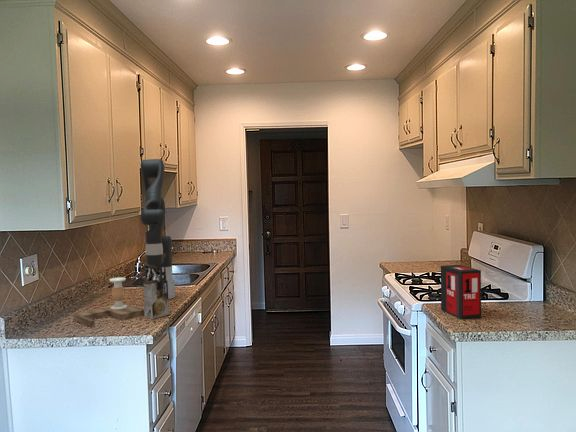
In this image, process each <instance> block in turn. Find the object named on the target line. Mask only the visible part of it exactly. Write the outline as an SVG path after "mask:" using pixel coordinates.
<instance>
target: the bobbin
mask: <svg viewBox="0 0 576 432" xmlns="http://www.w3.org/2000/svg"><path fill="white" fill-rule="evenodd" d="M126 281H127V280H126V277H123V276H122V277H121V276H119V277H118V276H117V277H112V278H109V282H110V283H113V287H112V288H111V289H112V301H113V302H114V304H113V305H111V306H110V307H111V310H123V309H126V308H127V305H128V304H126V305H123V304H124V300H125V289H124V288H125V286H124V285H123V282H126Z"/></svg>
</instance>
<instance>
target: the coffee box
mask: <svg viewBox="0 0 576 432" xmlns="http://www.w3.org/2000/svg"><path fill="white" fill-rule="evenodd" d="M142 285H143V303H144V318H147V319H151V320H154V319H158V318H162V317H165V316H168V315H170V308H169V307H170V305H169V304H170V303H169V299H168V282H167V280H165V281H163V290H158V280H157V279H156V280H155V279H152V280H151V281H148V280H147V281H143V283H142Z"/></svg>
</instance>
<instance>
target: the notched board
mask: <svg viewBox="0 0 576 432" xmlns="http://www.w3.org/2000/svg"><path fill="white" fill-rule="evenodd" d="M123 305H127V308H126V309H123V310H111V306H108V307H105V308H104V307H103V308H99V309H95V310H89V311H84V312H80V313H74V314H73V321H75V322H78V323H80V324H82V325H84V326H88V327H90V328H92V327H93V328H94V327H95V326H96V323H95V320H96V319H101V318H106V317H111V318H114V319H117V320H120V321H124V320H130V319H134V318H138V317H143V316H145V309H143V308H139V307H136V306H132V305H129V304H126V303H123Z"/></svg>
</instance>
